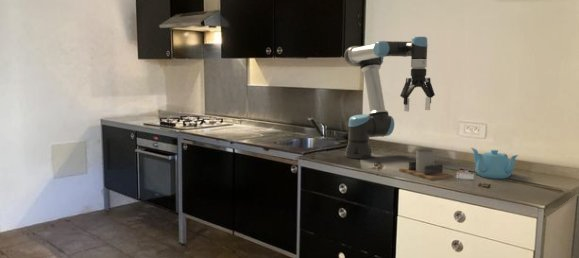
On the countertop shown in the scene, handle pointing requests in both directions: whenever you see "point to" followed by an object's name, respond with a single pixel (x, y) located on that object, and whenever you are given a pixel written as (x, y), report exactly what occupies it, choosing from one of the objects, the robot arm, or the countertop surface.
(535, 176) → the countertop surface
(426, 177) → the end holder
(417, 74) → the robot arm
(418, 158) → the cup
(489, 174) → the teapot
